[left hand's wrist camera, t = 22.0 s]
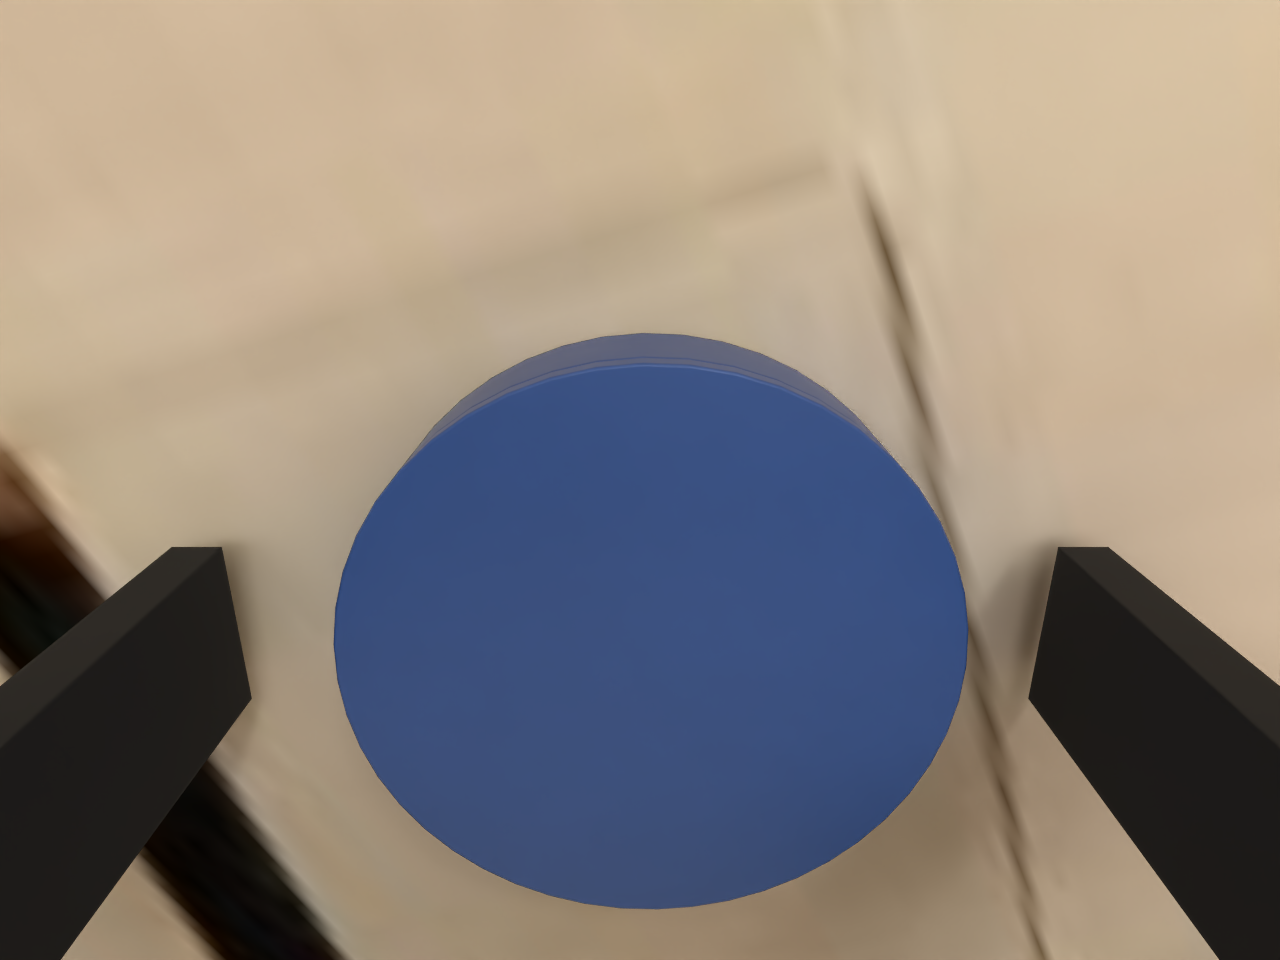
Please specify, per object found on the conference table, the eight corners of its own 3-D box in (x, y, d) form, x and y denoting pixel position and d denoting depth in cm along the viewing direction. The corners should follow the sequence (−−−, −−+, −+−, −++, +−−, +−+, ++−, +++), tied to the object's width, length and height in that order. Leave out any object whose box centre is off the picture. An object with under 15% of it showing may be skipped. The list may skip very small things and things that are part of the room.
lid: (931, 785, 15) (974, 874, 13) (448, 846, 15) (422, 939, 14) (911, 287, 12) (963, 309, 10) (304, 383, 12) (245, 422, 10)
